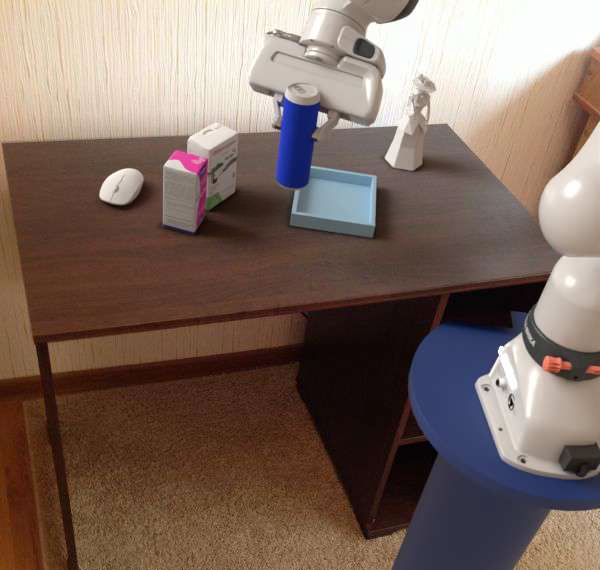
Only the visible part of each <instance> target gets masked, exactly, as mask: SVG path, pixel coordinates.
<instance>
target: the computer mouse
mask: <svg viewBox="0 0 600 570" xmlns="http://www.w3.org/2000/svg"><path fill="white" fill-rule="evenodd" d="M144 181H145V180H144V176H143V174H142V173H141V171H139V170H138V169H135V168H131V167H130V168H129V167H128V168H127V167H126V168H123V169H119V170H117V171H115V172H113V173H111V174H110V175H108V176H107V177H106V179H105V180H104V181H103V183H102V185H101V187H100V190H99V194H98V195H99V199H100V200H101V201H103V203H106V204H109V205H112V206H118V207H119V206H120V207H123V206H127V205H129V204H131V203H132V202H133V201H134V200H135V199H136V198H137V197H138V196H139V194H140V193H141V190H142V187H143V184H144Z"/></svg>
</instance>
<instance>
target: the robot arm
mask: <svg viewBox="0 0 600 570" xmlns="http://www.w3.org/2000/svg"><path fill="white" fill-rule="evenodd" d="M419 2H420V0H316V2H315V4H314V5H313V7H312V8H311V9H310V12H309V14H308V16H307V19H306V21H305V25H304V28H303V30H302V33H301V35H298V34H294V33H289V32H285V31H283V30H281V29H277V28H276V29H274V30H272V31H271V30H270V31H268V32H266V33H264V34H263V35H262V36H261V38H260V41H259V43H258V47H257V52H256V54H254V55H255V56H254V58H253V59H252V61H251V63H250V66H249V67H248V70H247V73H246V80H247V82H248V84H249V87H250V88H251V89H252V91H254V92H256V93H258V94H262V95H265V96H268V97H272V104H273V112H274V115H273V119H272V121H271V127H272V129H274V130H277V131H280V132H281V124H282V115H283V114H282V108H283V105H284V96H285V92H286V90H287V87H288V86H289V85H290V84H292V83H299V82H301V83H308V84H311V85H314V86H315V87H317V88H318V89H319V93H320V106H319V113H322V114H325V115H326V117H327V121H325V122H324V123H323V124H322V125H321V126H320V127H319V126H317V127H315V129H314V133H312V137H311V139H312V140H313V141H314V143H317V144H321V145H322V144H323V143H324V141H325V137H326V136H327V134H329V132H331V131H332V130H334V128H336V127H337V126H338V124H339V122H340V119H341V120H344V121H348V122H351V123H353V124H357V125H360V126H364V127H370V126H372V125H373V124H375V122H376V120H377V118H378V114H379V112H380V108H381V105H382V101H383V95H384V87H383V86H384V85H383V79H384V77H385V76H386V70H387V64H386V58H385V55H384V52H383V50H382V48H380V47H379V46H378V45H376V44H375V43H374V42H372V41H371V40H370V39H368V38H367V37H366V36H367V30H368V27H369V26H370V25H371V24H372V23H375V24H377V25H383V24H390V23H394V22H398V21H400V20H403V19H405V18H407V17H409V16H410V15H411V14H412V13H413V12H414V10H415V9H416V7H417V6H418V3H419ZM537 214H538V215H537V216H538V222H539V227H540V230H541V233H542V236H543V237H544V239H545V241H546V242H547V243H548V245H549V246H550V247H551V248H552V249H553V250H554V251H555V252H556V253H557V254H560V255H561V257H560V258H559V259H558V260H557V262H555V265H554V266H553V268H552V270H551V273H550V275H549V277H548V279H547V281H546V284H545V286H544V288H543V290H542V292H541V294H540V297H539V299H538V301H537V302H536V303H535V304H534V305H533V306H532V308H531V309H530V310H529V311H528V313H529V314H528V315H527V317H526V320H525V323H524V326H523V328H522V332H521V333H520V334H519V335H518V336H517V337H515V338H514V339H513V340H511V341H510V342H508V343H507V344H506V345H505V346H504V348H503V347H502V346H500V349H499V351H498V352H499V357H498V358H497V360H496V362H495V364H494V366H493V368H492V370H491V371H490V373H489V374H487V375H484V376H482V377H480V378H479V379H478V380H477V382H476V383H475V388H476V391H477V394H478V397H479V399H480V402H481V405H482V408H483V411H484V413H485V416H486V419H487V422H488V425H489V427H490V430H491V433H492V436H493V439H494V442H495V444H496V447H497V450H498V453H499V455H500V457H501V459H502V460H503V461H504V462H506V463H507V464H509V465H511V466H513V467H515V468H517V469H519V470H522V471H524V472H528V473H531V474H535V475H539V476H544V477H550V478H557V479H569V480H578V479H587V478H591V477H594V476H596V475H598V474H599V472H600V120H599V122H598V123H597V124H596V126H595V128H594V129H593V131H592V132H591V134H590V136H589V137H588V139H587V140H586V141H585V143H584V144H583V146H582V147H581V148H580V150H579V151H578V152H577V154H576V155H575V156H574V157H573V159H572V160H570V162H569V163H568V164H567V165H566V166H565V167H564V168H563V169H561V170H560V171H559V172H558V173H557V174H556V175H554V176H553V177H552V178H551V179H550V180H549V181H548V183H546V185H545V186H544V188H543V191H542V192H541V195H540V199H539V204H538V213H537ZM522 462H523V463H522Z"/></svg>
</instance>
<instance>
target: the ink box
mask: <svg viewBox="0 0 600 570" xmlns="http://www.w3.org/2000/svg"><path fill="white" fill-rule="evenodd" d="M186 141H187V147H186V148H187V152H186V153H189V154H193V155H197V156H201V157H205V158H208V170H207V188H206V206H205V211H207V212H208V211H210V210H212V209H213V208H214V207H216V206H217V205H219V204H220V203H221V202H223V201H224V200H226V199H227V198H229V197H230V196H231V195H233V194H234V193H236V181H237V180H236V179H237V178H236V177H237V163H238V162H237V161H238V146H239V145H238V144H239V131H236V130H234V129H232V128H230V127H227V126H225V125H223V124H222V123H220V122H213V123H212V124H210V125H208V126H207V127H205V128H203V129H201V130H200V131H198V132H196V133H194V134H192V135H190V136H189V138H188V139H187V140H186Z"/></svg>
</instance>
